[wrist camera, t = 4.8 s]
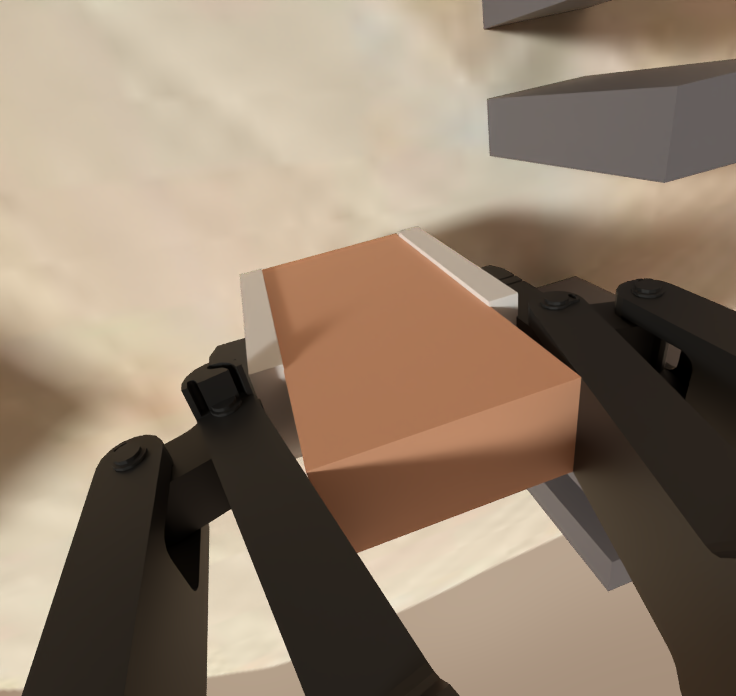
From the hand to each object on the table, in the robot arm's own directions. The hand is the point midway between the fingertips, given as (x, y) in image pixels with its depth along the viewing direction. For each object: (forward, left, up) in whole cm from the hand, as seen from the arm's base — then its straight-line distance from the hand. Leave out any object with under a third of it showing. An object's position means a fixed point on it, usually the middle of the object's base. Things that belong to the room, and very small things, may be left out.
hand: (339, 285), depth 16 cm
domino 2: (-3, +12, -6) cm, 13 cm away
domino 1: (0, 0, 0) cm, 0 cm away
